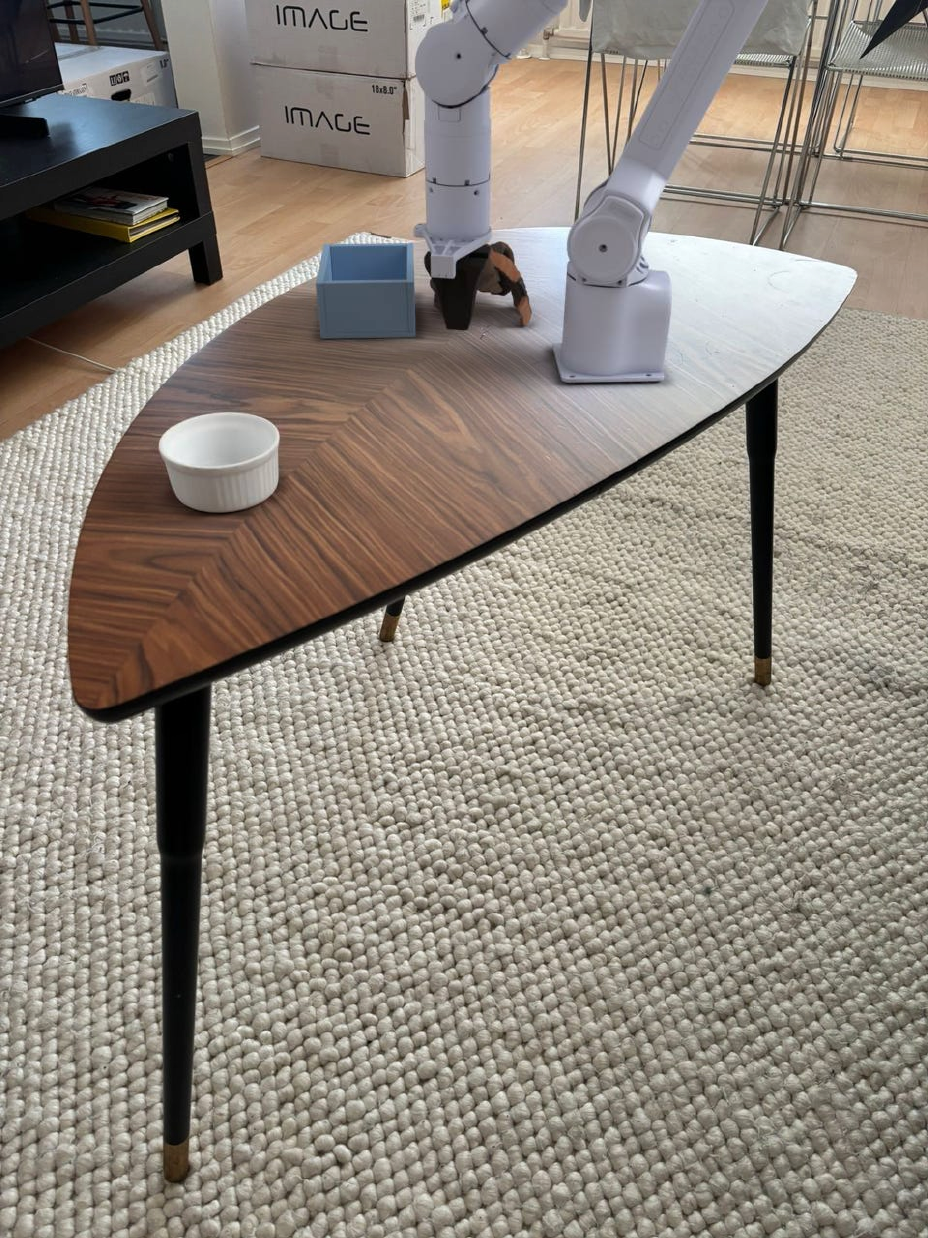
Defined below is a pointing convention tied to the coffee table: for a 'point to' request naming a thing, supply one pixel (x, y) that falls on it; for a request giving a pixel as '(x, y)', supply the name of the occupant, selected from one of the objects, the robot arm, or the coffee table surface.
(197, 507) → the ramekin
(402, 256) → the bin
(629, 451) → the coffee table surface
